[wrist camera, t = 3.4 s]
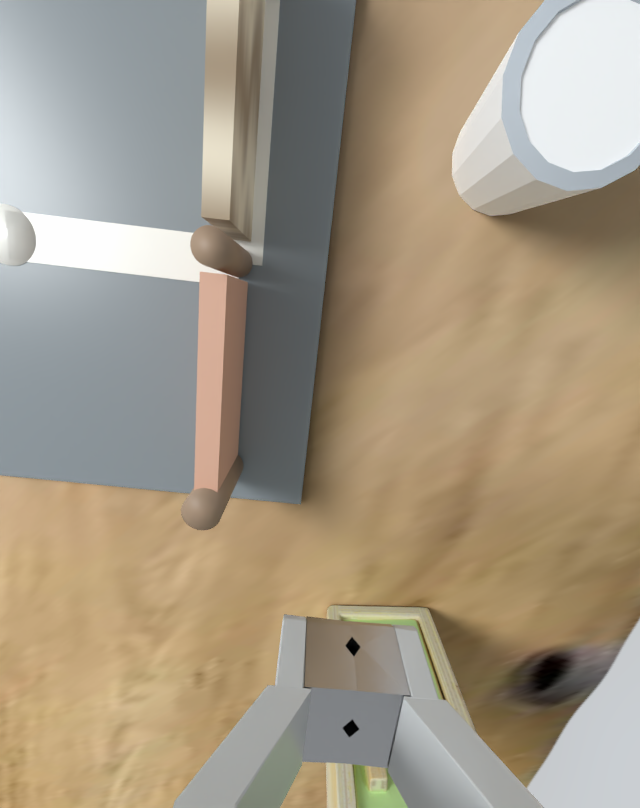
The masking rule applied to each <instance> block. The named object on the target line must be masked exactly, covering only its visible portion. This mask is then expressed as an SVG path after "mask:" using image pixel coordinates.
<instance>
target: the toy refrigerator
mask: <svg viewBox="0 0 640 808" xmlns="http://www.w3.org/2000/svg"><path fill="white" fill-rule="evenodd" d="M327 619H332V620H341V621H354V622H367V623H380V624H391V625H392V624H394V625H407V626H414V627H415V628H416V629H417V631H418V634H419V638H420V641H421V644H422V647H423V650H424V653H425V657H426V660H427V663H428V666H429V669H430V672H431V676H432V679H433V682H434V685H435V688H436V691H437V695H438V698H439V699H441V700H447V702H448V703H449V704H450V705H451V706H452V707H453V708H454V709H455V710H456V711H457V713H458V714H459V715H460V716H461V717H462V718H463V719H464V720H465V721H466V722H467V724H468V725H469V726H470V727H471V728H472V729H473V730H474V731H475V732H476V730H475V727H474V724H473V722H472V719H471V717H470V714H469V711H468V709H467V706H466V704H465V701H464V699H463V696H462V693H461V691H460V688H459V685H458V683H457V680H456V678H455V675H454V673H453V670H452V668H451V665H450V662H449V660H448V657H447V655H446V652H445V649H444V647H443V644H442V642H441V639H440V636H439V634H438V631H437V629H436V626H435V624H434V621H433V618H432V616H431V614H430V611H429V609H428V608H424V607H381V606H340V605H332V606H329V607H328V609H327ZM476 733H477V732H476ZM326 781H327V808H408V807H407V805H406V803H405V801H404V800H403V798H402V796H401V794H400V792H399V791H398V789H397V787H396V785H395V783H394V782H393V780H392V778H391V776H390V774H389V773H388V768H381V767H372V766H363V765H355V764H346V763H326Z"/></svg>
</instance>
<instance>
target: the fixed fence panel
mask: <svg viewBox="0 0 640 808" xmlns="http://www.w3.org/2000/svg"><path fill="white" fill-rule="evenodd" d="M264 16H265V0H207V11H206V49H205V88H204V126H203V165H202V203H201V217H202V218H203V219H205V220H206V221H207V222H208V223H210V224H211V225H212V226H215V227H217V228H219V229H220V230H222V231H223V232H224V233H225V234H227V235H228V236H229V237H230V238H232V239H233V240H241V241H249V242H251V237H252V220H253V203H254V186H255V169H256V152H257V135H258V118H259V101H260V84H261V67H262V50H263V33H264Z"/></svg>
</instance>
